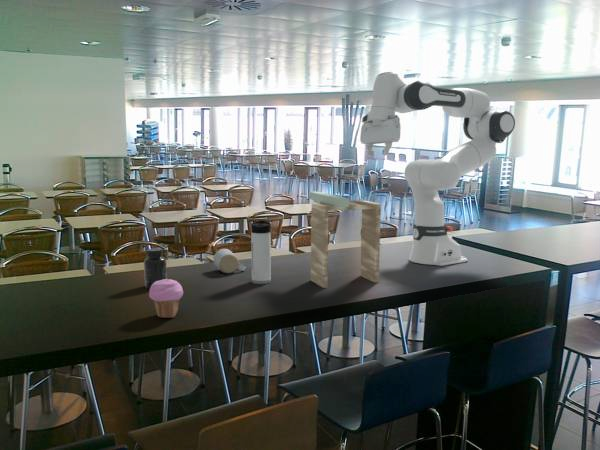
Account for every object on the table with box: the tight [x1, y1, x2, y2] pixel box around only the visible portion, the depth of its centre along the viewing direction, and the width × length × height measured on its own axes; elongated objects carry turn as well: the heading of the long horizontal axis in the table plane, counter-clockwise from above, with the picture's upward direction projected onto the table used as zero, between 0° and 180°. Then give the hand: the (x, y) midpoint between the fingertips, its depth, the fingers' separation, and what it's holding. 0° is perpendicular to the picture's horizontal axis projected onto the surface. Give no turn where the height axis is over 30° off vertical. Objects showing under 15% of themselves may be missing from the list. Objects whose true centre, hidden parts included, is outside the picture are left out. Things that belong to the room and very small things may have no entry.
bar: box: [309, 191, 350, 207], centre depth 180 cm, size 3×24×2 cm, turn 21°
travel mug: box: [250, 219, 272, 285], centre depth 180 cm, size 6×7×20 cm
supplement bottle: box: [143, 247, 168, 290], centre depth 174 cm, size 7×7×12 cm
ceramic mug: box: [213, 248, 247, 275], centre depth 195 cm, size 11×8×8 cm
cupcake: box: [148, 278, 184, 319], centre depth 146 cm, size 9×9×10 cm
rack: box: [310, 200, 382, 289], centre depth 181 cm, size 20×10×26 cm, turn 111°
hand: (377, 155), depth 200 cm, fingers open, 8 cm apart
